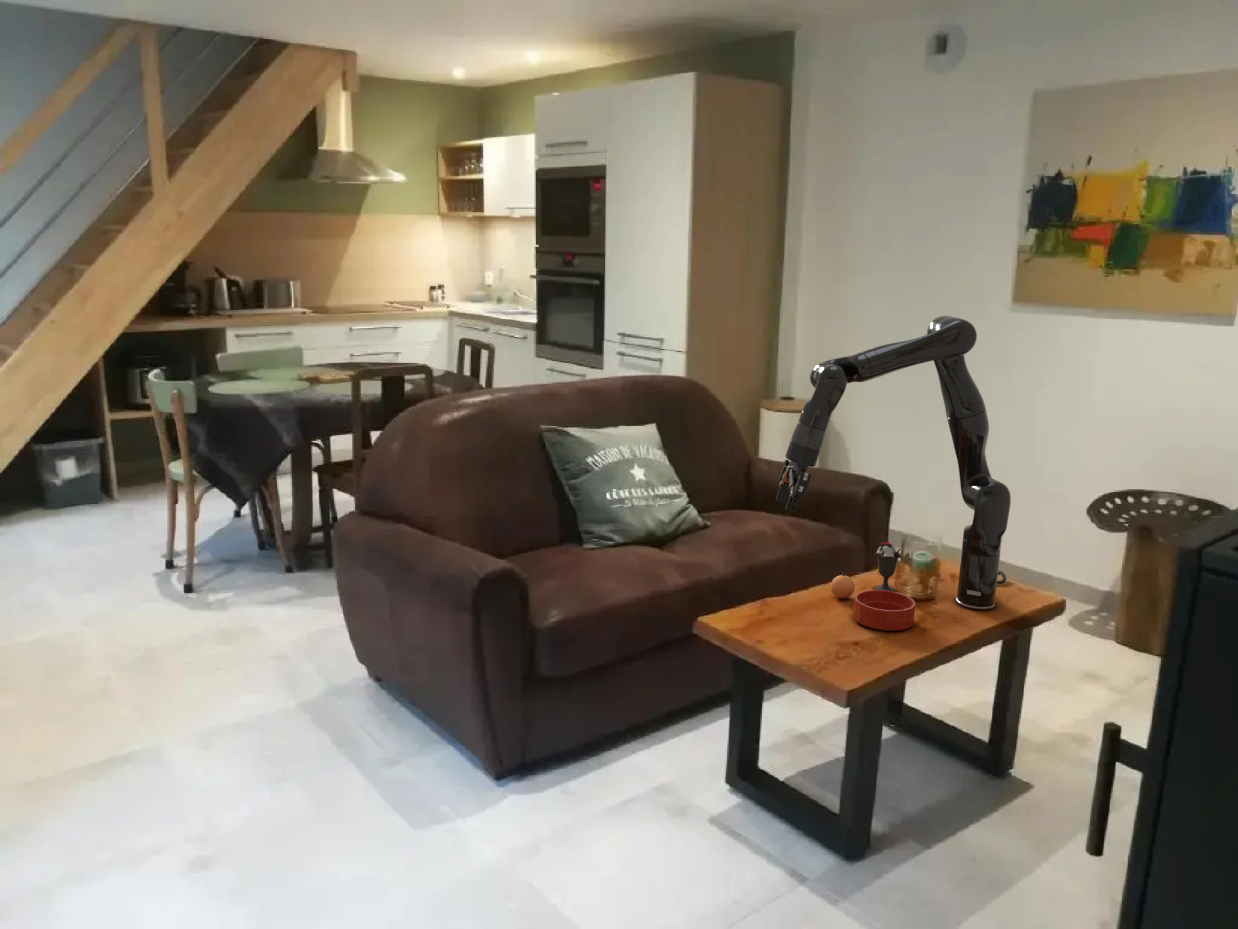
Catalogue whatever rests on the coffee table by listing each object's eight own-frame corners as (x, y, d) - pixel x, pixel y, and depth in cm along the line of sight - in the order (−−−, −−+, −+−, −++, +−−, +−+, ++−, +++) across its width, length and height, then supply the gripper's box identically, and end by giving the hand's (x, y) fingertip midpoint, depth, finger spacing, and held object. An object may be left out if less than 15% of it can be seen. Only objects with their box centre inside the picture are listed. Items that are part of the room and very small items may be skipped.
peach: (836, 591, 256) (838, 567, 255) (857, 597, 253) (859, 572, 251) (825, 598, 252) (827, 573, 250) (847, 603, 248) (849, 578, 247)
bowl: (868, 606, 247) (870, 585, 246) (922, 620, 238) (924, 599, 237) (843, 622, 236) (844, 601, 235) (898, 637, 227) (900, 615, 226)
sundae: (867, 586, 261) (871, 533, 257) (889, 584, 262) (894, 531, 259) (879, 595, 255) (883, 540, 251) (902, 593, 256) (907, 539, 253)
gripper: (830, 454, 227) (807, 518, 230) (811, 441, 241) (790, 502, 244) (800, 445, 226) (778, 510, 229) (783, 433, 239) (762, 495, 243)
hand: (784, 506), depth 236 cm, fingers open, 8 cm apart
